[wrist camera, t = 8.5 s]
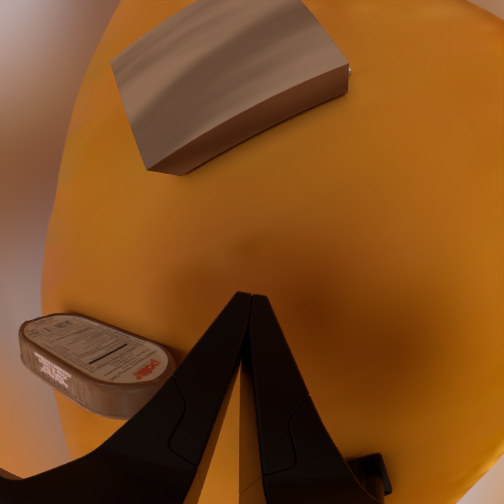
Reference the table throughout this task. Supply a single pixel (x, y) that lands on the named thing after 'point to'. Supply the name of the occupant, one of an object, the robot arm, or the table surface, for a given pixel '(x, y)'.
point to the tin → (95, 363)
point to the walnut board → (223, 77)
